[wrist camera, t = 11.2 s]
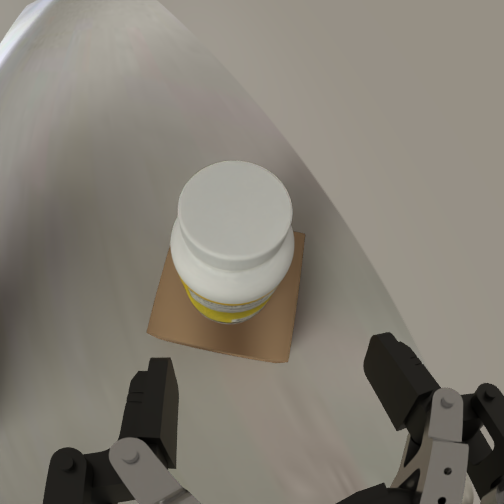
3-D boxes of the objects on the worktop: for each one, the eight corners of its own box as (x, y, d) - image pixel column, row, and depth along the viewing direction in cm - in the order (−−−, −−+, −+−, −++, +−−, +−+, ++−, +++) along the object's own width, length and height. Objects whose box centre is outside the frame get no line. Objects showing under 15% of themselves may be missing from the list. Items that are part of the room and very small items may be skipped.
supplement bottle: (202, 235, 20) (194, 131, 11) (278, 259, 20) (326, 169, 11) (174, 309, 18) (132, 249, 9) (256, 336, 18) (296, 303, 9)
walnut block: (159, 338, 21) (146, 332, 17) (186, 232, 24) (181, 208, 21) (275, 363, 21) (288, 362, 17) (292, 254, 25) (305, 233, 21)
